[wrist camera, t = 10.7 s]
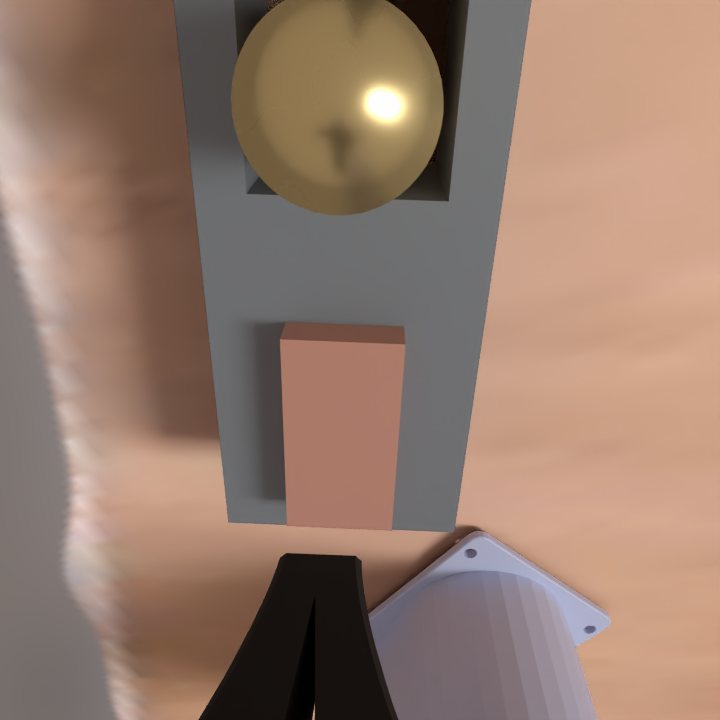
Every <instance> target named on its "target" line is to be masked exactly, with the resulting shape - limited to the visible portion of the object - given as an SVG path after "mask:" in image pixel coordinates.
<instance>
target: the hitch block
mask: <svg viewBox="0 0 720 720" xmlns="http://www.w3.org/2000/svg"><path fill="white" fill-rule="evenodd" d="M173 1H174V10H175V20H176V29H177V39H178V48H179V58H180V67H181V77H182V86H183V96H184V105H185V115H186V124H187V134H188V143H189V153H190V162H191V172H192V181H193V191H194V200H195V210H196V219H197V229H198V238H199V248H200V257H201V267H202V276H203V286H204V295H205V305H206V314H207V324H208V333H209V343H210V352H211V362H212V371H213V381H214V390H215V400H216V409H217V419H218V428H219V438H220V447H221V457H222V466H223V476H224V485H225V495H226V504H227V514H228V522H231V523H254V524H276V525H287V510H286V484H285V457H284V431H283V405H282V378H281V352H280V338H281V335H282V332H283V329H284V325H285V322H298V323H323V324H348V325H373V326H398V327H404V331H405V344H406V345H405V358H404V371H403V385H402V398H401V412H400V425H399V439H398V452H397V466H396V479H395V493H394V506H393V520H392V530H412V531H435V532H454V530H455V523H456V516H457V509H458V502H459V496H460V489H461V482H462V475H463V468H464V461H465V454H466V447H467V440H468V434H469V427H470V420H471V413H472V406H473V399H474V392H475V385H476V379H477V372H478V365H479V358H480V351H481V344H482V337H483V330H484V323H485V317H486V310H487V303H488V296H489V289H490V282H491V275H492V268H493V262H494V255H495V248H496V241H497V234H498V227H499V220H500V213H501V206H502V200H503V193H504V186H505V179H506V172H507V165H508V158H509V151H510V145H511V138H512V131H513V124H514V117H515V110H516V103H517V96H518V89H519V83H520V76H521V69H522V62H523V55H524V48H525V41H526V34H527V27H528V21H529V14H530V7H531V0H450V2H449V13H448V25H447V36H446V47H445V59H444V70H443V81H442V88H443V109H444V111H443V119H442V126H441V130H440V135H439V139H438V142H437V150H436V161H435V164H427V166H426V167H425V168H424V170H423V171H422V173H421V174H420V176H419V177H418V178H417V179H416V180H415V181H414V182H413V184H412V185H411V186H410V187H409V188H408V189H406V190H405V191H404V192H403V193H402V194H401V195H399V196H398V197H396V198H395V199H393V200H392V201H390V202H389V203H387V204H385V205H383V206H380V207H378V208H376V209H373V210H370V211H367V212H364V213H358V214H353V215H326V214H321V213H316V212H312V211H309V210H306V209H303V208H301V207H299V206H297V205H295V204H292V203H290V202H289V201H287V200H286V199H284V198H283V197H281V196H279V195H278V194H277V193H276V192H274V191H273V190H272V189H271V188H270V187H269V186H267V184H266V183H265V182H264V181H263V180H262V179H261V178H260V177H259V176H258V174H257V173H256V172H255V170H254V169H253V168H252V166H251V165H250V163H249V161H248V160H247V158H246V156H245V154H244V152H243V150H242V148H241V145H240V143H239V140H238V138H237V134H236V131H235V127H234V122H233V116H232V107H231V90H232V80H233V75H234V70H235V65H236V63H237V60H238V57H239V54H240V51H241V49H242V47H243V45H244V43H245V41H246V39H247V37H248V36H249V35H250V33H251V32H252V30H253V29H254V27H255V26H256V25H257V23H258V22H259V21H260V20H261V19H262V18H263V17H264V16H265V15H266V14H267V13H268V9H267V0H173Z"/></svg>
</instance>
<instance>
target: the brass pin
mask: <svg viewBox="0 0 720 720" xmlns="http://www.w3.org/2000/svg"><path fill="white" fill-rule="evenodd" d="M231 107H232V116H233V122H234V127H235V131H236V134H237V138H238V140H239V143H240V145H241V148H242V150H243V152H244V154H245V156H246V158H247V160H248V161H249V163H250V165H251V166H252V168H253V169H254V170H255V172H256V173H257V174H258V176H259V177H260V178H261V179H262V180H263V181H264V182H265V183H266V184H267V186H269V187H270V188H271V189H272V190H273V191H274V192H276V193H277V194H278V195H279V196H281V197H283V198H284V199H286V200H287V201H289V202H290V203H292V204H295V205H297V206H299V207H301V208H303V209H306V210H309V211H312V212H316V213H321V214H326V215H353V214H358V213H364V212H367V211H370V210H373V209H376V208H378V207H380V206H383V205H385V204H387V203H389V202H390V201H392V200H393V199H395V198H396V197H398V196H399V195H401V194H402V193H403V192H404V191H405V190H406V189H408V188H409V187H410V186H411V185H412V184H413V182H414V181H415V180H416V179H417V178H418V177H419V176H420V174H421V173H422V171H423V170H424V168H425V167H426V166H427V164H428V162H429V160H430V158H431V156H432V154H433V152H434V149H435V147H436V144H437V142H438V139H439V135H440V130H441V126H442V119H443V111H444V109H443V88H442V80H441V76H440V72H439V68H438V65H437V62H436V60H435V57H434V55H433V52H432V50H431V48H430V46H429V45H428V43H427V41H426V39H425V37H424V36H423V35H422V33H421V32H420V30H419V29H418V28H417V26H416V25H415V24H414V23H413V22H412V21H411V20H410V19H409V18H408V17H407V16H406V15H405V14H404V13H403V12H402V11H401V10H399V9H398V8H397V7H395V6H394V5H393V4H391V3H390V2H388V1H386V0H284V1H283V2H281V3H279V4H278V5H277V6H275V7H274V8H273V9H272V10H270V11H269V12H268V13H267V14H266V15H265V16H264V17H263V18H262V19H261V20H260V21H259V22H258V23H257V25H256V26H255V27H254V29H253V30H252V32H251V33H250V35H249V36H248V37H247V39H246V41H245V43H244V45H243V47H242V49H241V51H240V54H239V57H238V60H237V63H236V65H235V70H234V75H233V80H232V90H231Z"/></svg>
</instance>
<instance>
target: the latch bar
mask: <svg viewBox="0 0 720 720" xmlns="http://www.w3.org/2000/svg"><path fill="white" fill-rule="evenodd" d="M405 345H406V344H405V331H404V327H398V326H373V325H348V324H323V323H298V322H285V325H284V329H283V332H282V335H281V338H280V352H281V378H282V405H283V431H284V457H285V484H286V510H287V526H300V527H323V528H345V529H368V530H391V531H392V520H393V506H394V493H395V479H396V466H397V452H398V439H399V425H400V412H401V398H402V385H403V371H404V358H405Z"/></svg>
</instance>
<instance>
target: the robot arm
mask: <svg viewBox="0 0 720 720" xmlns="http://www.w3.org/2000/svg"><path fill="white" fill-rule="evenodd" d="M467 549H473V550H470V551H467ZM610 623H611V621H610V618H609V615H608V613H607V612H606V611H605V610H603V609H602V608H600V607H599V606H597V605H596V604H594V603H593V602H591V601H590V600H588V599H587V598H585V597H584V596H582V595H581V594H579V593H578V592H576V591H575V590H573V589H572V588H570V587H569V586H567V585H565V584H564V583H562V582H561V581H559V580H558V579H556V578H555V577H553V576H552V575H550V574H549V573H547V572H546V571H544V570H543V569H541V568H540V567H538V566H537V565H535V564H534V563H532V562H531V561H529V560H527V559H526V558H524V557H523V556H521V555H520V554H518V553H517V552H515V551H514V550H512V549H511V548H509V547H508V546H506V545H505V544H503V543H502V542H500V541H499V540H497V539H496V538H494V537H493V536H491V535H489V534H488V533H486V532H484V531H474V532H472V533H470V534H468V535H467V536H466V537H465V538H463V539H462V540H461V541H459V542H458V543H457V544H456V545H454V546H453V547H452V548H451V549H449V550H448V551H447V552H446V553H444V554H443V555H442V556H441V557H439V558H438V559H437V560H436V561H434V562H433V563H432V564H431V565H429V566H428V567H427V568H426V569H424V570H423V571H422V572H421V573H419V574H418V575H417V576H416V577H414V578H413V579H412V580H410V581H409V582H408V583H407V584H405V585H404V586H403V587H402V588H400V589H399V590H398V591H397V592H395V593H394V594H393V595H392V596H390V597H389V598H388V599H387V600H385V601H384V602H383V603H382V604H380V605H379V606H378V607H377V608H375V609H374V610H373V611H372V612H370V613H369V614H368V611H367V607H366V601H365V595H364V588H363V580H362V561H361V560H360V559H358V558H357V557H356V556H343V555H318V554H292V553H286V554H285V555H283V556H282V557H280V560H279V563H278V566H277V569H276V571H275V574H274V577H273V579H272V582H271V584H270V587H269V589H268V591H267V594H266V596H265V598H264V600H263V603H262V605H261V607H260V609H259V611H258V613H257V615H256V617H255V619H254V622H253V624H252V626H251V628H250V630H249V631H248V633H247V635H246V637H245V639H244V641H243V643H242V645H241V647H240V649H239V650H238V652H237V654H236V656H235V658H234V660H233V662H232V664H231V666H230V667H229V669H228V671H227V673H226V674H225V676H224V678H223V680H222V681H221V683H220V685H219V686H218V688H217V690H216V691H215V693H214V695H213V696H212V698H211V700H210V701H209V703H208V705H207V706H206V708H205V710H204V711H203V713H202V715H201V716H200V718H199V720H312V717H313V710H314V704H315V720H598V718H597V715H596V711H595V708H594V705H593V702H592V698H591V695H590V692H589V689H588V685H587V682H586V679H585V676H584V672H583V669H582V666H581V663H580V659H579V656H578V653H577V650H576V647H577V646H579V645H580V644H582V643H583V642H585V641H587V640H588V639H590V638H591V637H593V636H595V635H596V634H598V633H599V632H601V631H603V630H604V629H606V628H607V627H608V626H609V625H610Z"/></svg>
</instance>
